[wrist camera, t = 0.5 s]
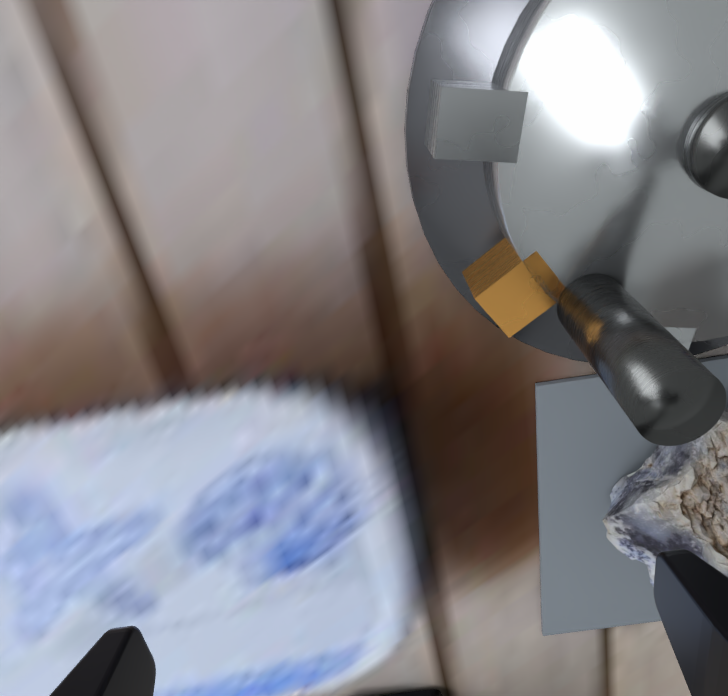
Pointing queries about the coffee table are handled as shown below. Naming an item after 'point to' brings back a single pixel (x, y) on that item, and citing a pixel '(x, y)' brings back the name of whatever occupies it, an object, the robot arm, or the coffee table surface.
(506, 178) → the sprocket
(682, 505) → the mineral specimen
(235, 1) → the coffee table surface
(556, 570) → the slate mat
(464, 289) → the sprocket base
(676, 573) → the robot arm
